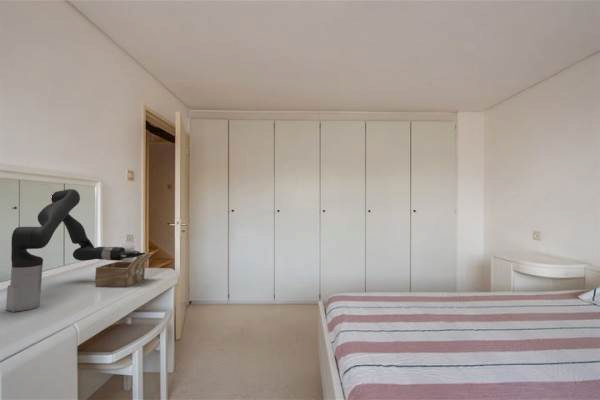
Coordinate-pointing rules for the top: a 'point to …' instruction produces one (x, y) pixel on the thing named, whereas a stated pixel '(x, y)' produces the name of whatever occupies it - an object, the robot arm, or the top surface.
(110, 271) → the wooden box
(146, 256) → the near flap
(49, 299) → the top surface
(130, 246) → the water bottle
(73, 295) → the top surface
